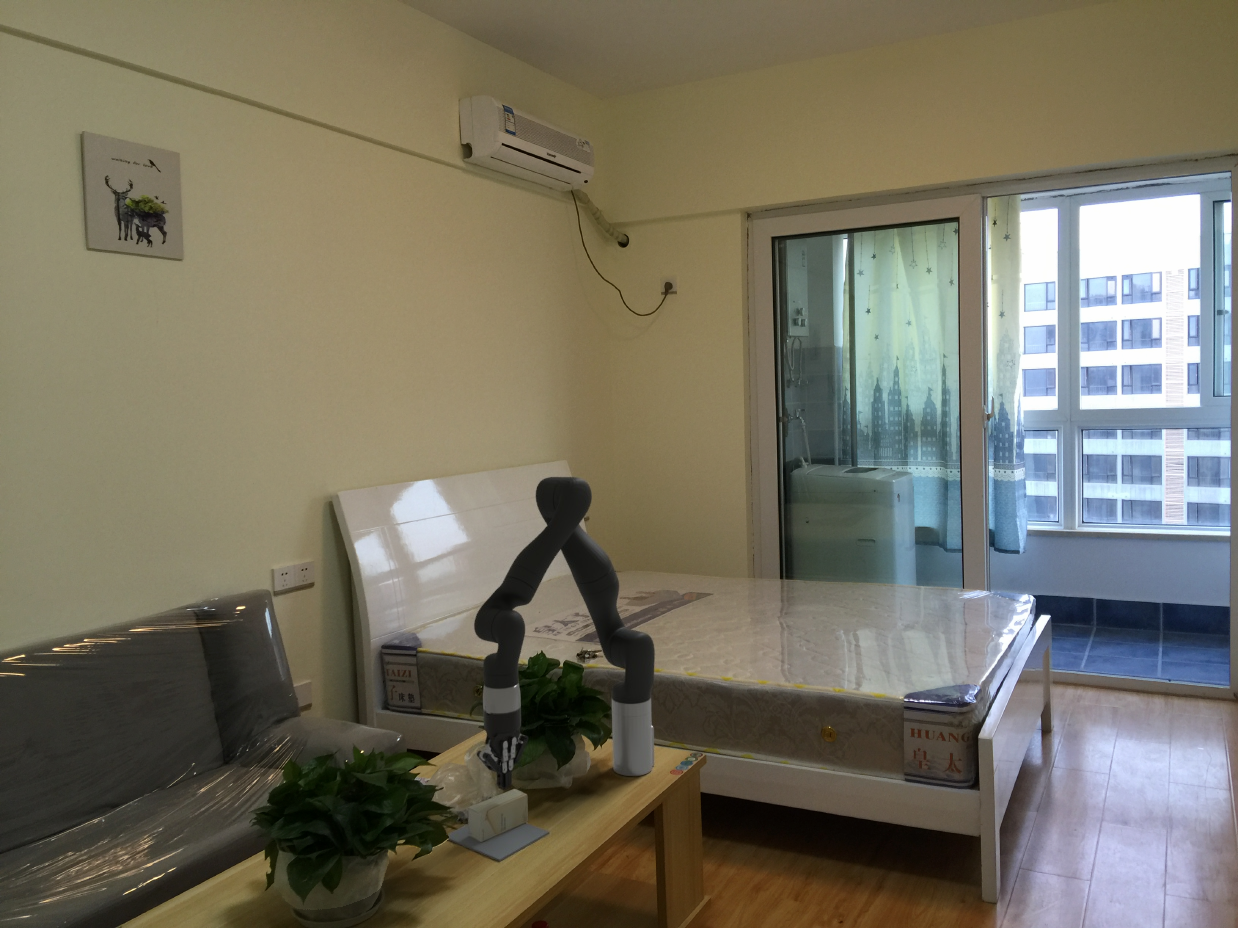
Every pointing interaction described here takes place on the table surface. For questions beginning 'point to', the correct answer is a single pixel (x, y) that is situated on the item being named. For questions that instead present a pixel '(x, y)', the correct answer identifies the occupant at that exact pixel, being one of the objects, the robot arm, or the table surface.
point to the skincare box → (497, 815)
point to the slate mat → (499, 840)
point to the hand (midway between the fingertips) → (504, 787)
